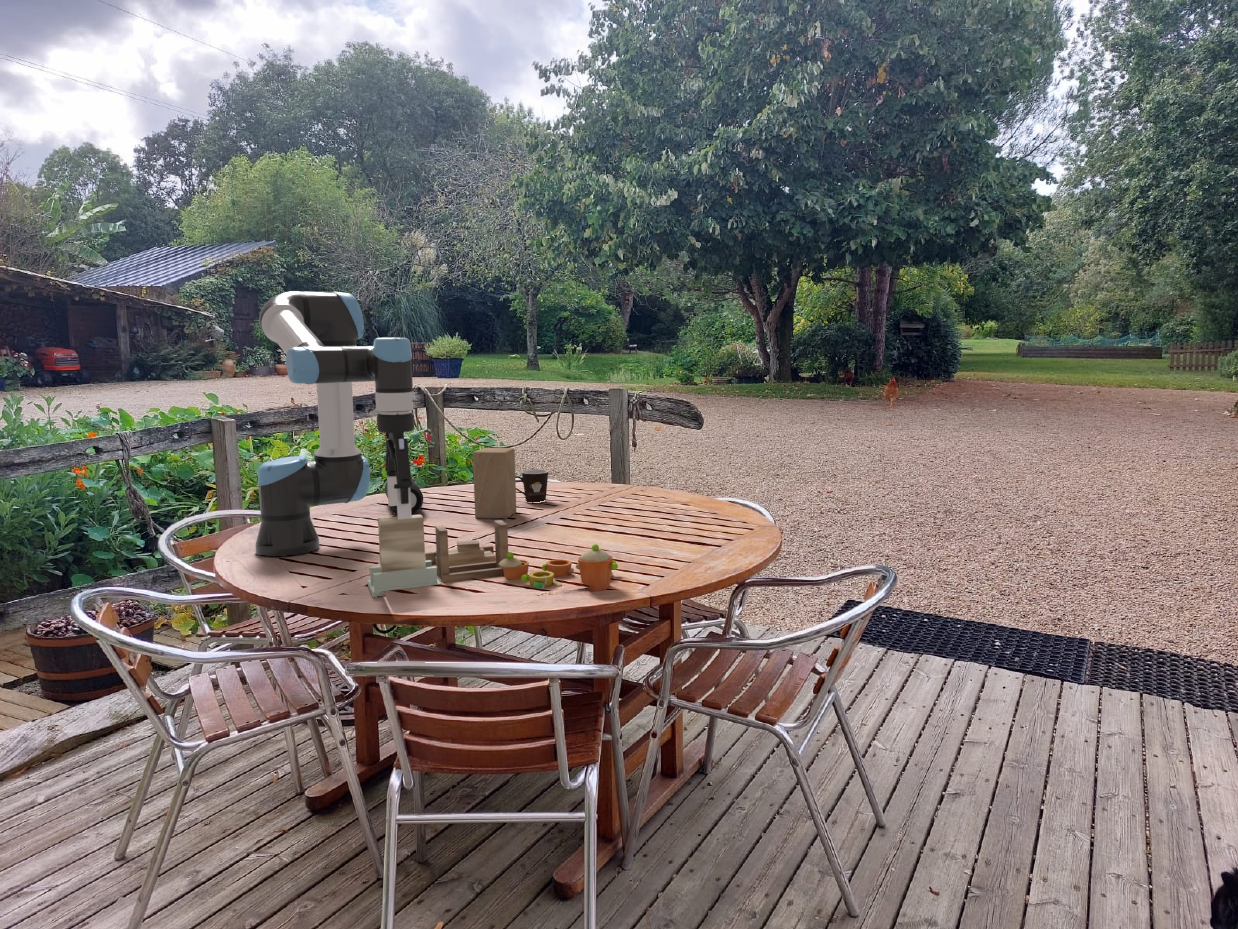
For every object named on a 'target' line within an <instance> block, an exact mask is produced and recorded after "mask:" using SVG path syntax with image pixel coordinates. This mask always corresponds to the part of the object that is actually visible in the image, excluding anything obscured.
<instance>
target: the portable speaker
mask: <svg viewBox="0 0 1238 929" xmlns="http://www.w3.org/2000/svg"><path fill="white" fill-rule="evenodd" d="M411 480H412V486H410V490H411V514H412V515H416V513H418V512H419V511H420V510H421V508H422V506H423V505H424V504H423V503H424V494H423V491H422V490H421V489H420V487H419V486H418V485H417V483H416V481H415V480H414V479H413V478H412V477H411ZM384 494H385V496H386V497H387V498H386V499H388V486H387V481H386V483H385V485H384ZM390 507H391V509H392V510H393V511H394V512H395V513H396V514H397V506H390Z"/></svg>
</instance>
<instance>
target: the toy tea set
mask: <svg viewBox="0 0 1238 929" xmlns="http://www.w3.org/2000/svg"><path fill="white" fill-rule="evenodd" d="M514 556H515V555H514V553H513V552H510V551H508V554H507V558H506V559H503V560H502V561H501V562H500V563H499V566H501V567H503V571H504V575H503V577H504V578H505V579H507V580H521V582H524V583H526V582H527V581H529V585H530V586H531V587H533V588H539V589H545V588H549V587H552V585H554V586H555V587H562V586H563V585H562V583H561V582H559V581H557V580H556V579H555V578H554V577H565V576H569V575H571V573H574V572H575V569H577V570H578V571H579V575H580V582H581V583H582V584H583V585H586V586H588V587H583V589H584V590H586V591H590V592H592V591H593V592H597V591H605V590H607V589H610V585H611V578H612V577H613V575H614V574H613V571H612V570H614V571H615V570H618V568H619V565H618V563H617V561H616V560H615V559H614V558H613V556H611V555H610V554H609V553H608V552H607V551H605V550H603V549H600V548H599V544H597V543H594V544H592V546H591V549H588V550H586V551H585V552H583V554H582V555H581V556H579V557H578V559H577V563H576V565H575V569H574V568H573V567H572V565H573V564H572V561H571V560H570V559H560V558H559V559H558V558H556V559H551V560H548V561H546V562H545V564H542V565H541V570H537V571H532V572H530V573H529V566H530V561H528V560H524V559H518V558H516V557H514ZM550 593H552V592H551V591H549V594H550ZM541 594H542V595H543V594H545V595H546V592H544V593H541Z"/></svg>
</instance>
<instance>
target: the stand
mask: <svg viewBox="0 0 1238 929" xmlns="http://www.w3.org/2000/svg"><path fill="white" fill-rule="evenodd" d="M425 566H426V567H425V568H416V569H407V570H398V571H390V572H381V569H380V565H377V566H369V573H370V575H369V577H370V578H369V579H367V582H366V583H367V586H368V590H369V591H370V593H372V594H371V596H372V597H375V598H378V597H377V596H383V597H386V595H385V592H386V591H388V592H389V591H397V590H404V589H412V588H419V587H427V586H436V585H442V582H439V580H438V579H437V568H436V566H433V567H432V561H431V560H427V561H425Z"/></svg>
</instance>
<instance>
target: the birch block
mask: <svg viewBox="0 0 1238 929" xmlns="http://www.w3.org/2000/svg"><path fill="white" fill-rule="evenodd" d="M377 526H378V527H377V528H378V531H377V532H378V547H379V549H378V550H379V551H378V552H379V566H380V569H381V572H390V571H398V570H407V569H416V568H425V567H426V566H425V553H426V549H425V530H424V529H425V526H424V516H423V515H422V514H413V515H412V518H411V519H399V520H398V516H389V517H379V518H377Z"/></svg>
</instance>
